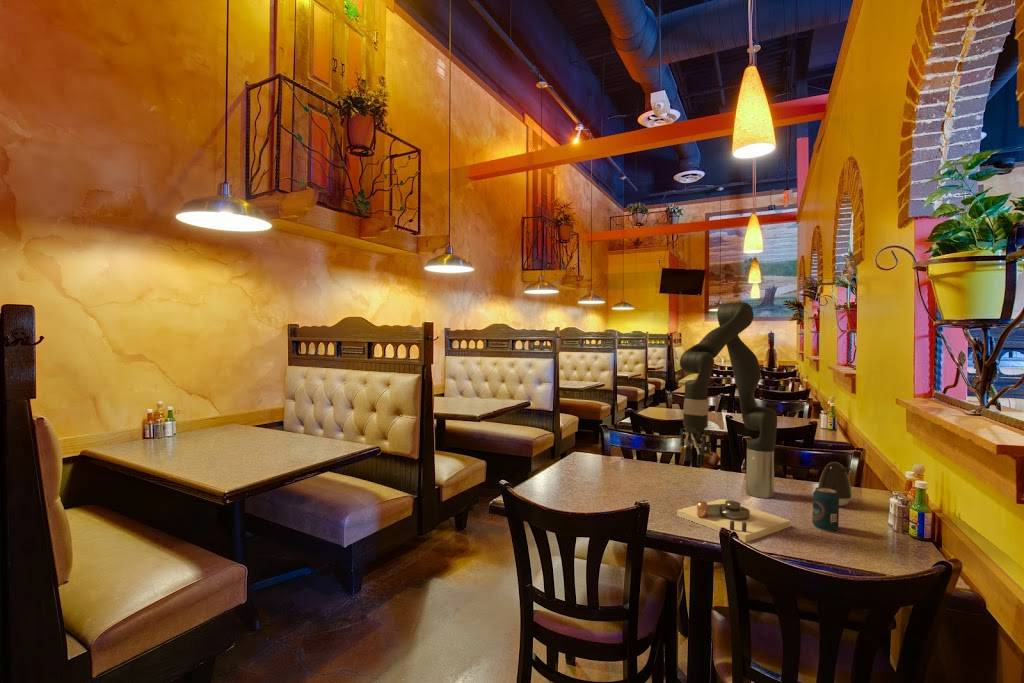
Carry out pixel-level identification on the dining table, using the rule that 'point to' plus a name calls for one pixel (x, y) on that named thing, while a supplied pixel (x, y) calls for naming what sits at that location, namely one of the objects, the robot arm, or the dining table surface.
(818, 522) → the soda can
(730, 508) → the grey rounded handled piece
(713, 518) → the base board
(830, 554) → the dining table surface
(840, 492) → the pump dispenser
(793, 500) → the dining table surface
